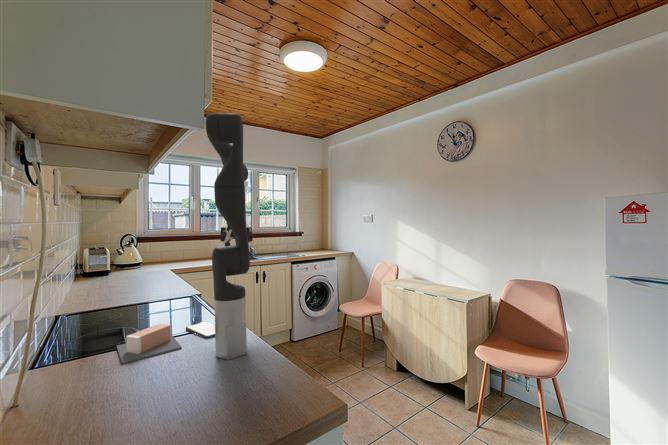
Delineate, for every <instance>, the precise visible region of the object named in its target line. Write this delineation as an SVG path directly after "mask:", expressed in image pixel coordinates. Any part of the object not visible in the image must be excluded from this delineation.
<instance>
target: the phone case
mask: <svg viewBox="0 0 668 445" xmlns="http://www.w3.org/2000/svg"><path fill="white" fill-rule="evenodd" d="M185 331H186V332H188V331H189V332H188V333H191V332H192V333H191V334H193V333H196V334H198V335H200V336H202V337H204V338H203V339H205V338H209V339H212V338H211V337H213V338H215V337H214V336H215V323H212V322H209V321H201V322H197V323H194V324H190V325H188V326H186V327H185ZM198 335H197V336H198ZM200 336H199V337H200ZM202 337H201V338H202Z"/></svg>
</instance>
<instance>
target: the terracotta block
mask: <svg viewBox="0 0 668 445" xmlns="http://www.w3.org/2000/svg"><path fill="white" fill-rule="evenodd" d="M171 326H172V325H171V324H166V323H157V324H155V325H152V326H150V327H148V328H144V329H142V330H139V331H137V332H134V333H131V334H128V335H126V339H125V340H126V343H125V344H127V352H130V353H135V354H139V353H142V352H144V351H146V350H148V349H151V348H153V347H155V346H158V345H160V344H162V343H164V342H167V341H169V340H171V335H172V327H171Z"/></svg>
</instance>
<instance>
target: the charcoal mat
mask: <svg viewBox="0 0 668 445" xmlns="http://www.w3.org/2000/svg"><path fill="white" fill-rule="evenodd" d="M182 348H183V347H182V346H181V344H180V343H179V342H178V341H177V340H176V338H175V337H174V336H173V334H171V340H169V341H167V342H164V343H162V344H160V345H158V346H155V347H153V348H151V349H148V350H146V351H144V352H142V353H139V354H135V353H130V352H127V344H126V343H122V344H118V345H116V350H117V354H118V357H119V356H120V357H119V359H120V363H121V365H124V364H128V363H132V362H136V361H139V360H143V359H144V360H145V359H147V358H151V357H155V356H159V355H163V354H167V353H170V352H171V353H172V352H175V351H177V350H178V351H179V350H182Z"/></svg>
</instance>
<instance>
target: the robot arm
mask: <svg viewBox="0 0 668 445" xmlns="http://www.w3.org/2000/svg"><path fill="white" fill-rule="evenodd" d="M205 131H206V135H207V136H206V137H207V138H208V140H209V142H210V144H211V145H212V147H213V148H214V150H215V152H216V153H217V154H218V156H219V157H220V160H221V163H222V168H221V170H220V172H219V173H218V175H217V176H216V179H215V181H214V185H213V186H214V187H213V188H214V189H213V190H214V204H215V207H216V208H217V210H218V212H219V213H220V215H221V216H222V218H223V219H224V220H225V221H226V222H225V223H226V225H227V226H222V227H220V238H219V239H220V242H223V243H224V245H223V246H216V247H214V249H213V250H212V254H211V264H212V265H211V266H212V275H213V276H212V278H213V294H214V295H213V296H214V298H213V299H214V324H215V337H214V339H215V340H214V341H215V357H216V358H219V359H226V360H228V361H229V360H231V359H235V358H238V357H241V356H244V355H247V353H248V348H247V346H248V345H247V344H248V342H247V340H248V339H247V309H246V308H247V307H246V304H247V302H246V288H245V286H243V285H239V284H236V283H232V282H230V281H228V280H227V277H231V276H237V275H244V274H248V271H249V270H250V266H251V255H250V247H249V243H251V242H253V227H252V226H248V227H247V212H246V211H247V210H246V208H247V207H246V185H245V184H246V183H245V182H246V181H247V180H248V178H249V170H248V168H247V166H246V165H245V163H244V123H243V119H242V116H241V115H240V114H238V113H229V112H227V113H223V112H220V113H218V112H216V113H215V112H214V113H209V114H207V115H206V117H205ZM232 239H234V241H235V245H231V241H232Z"/></svg>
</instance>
